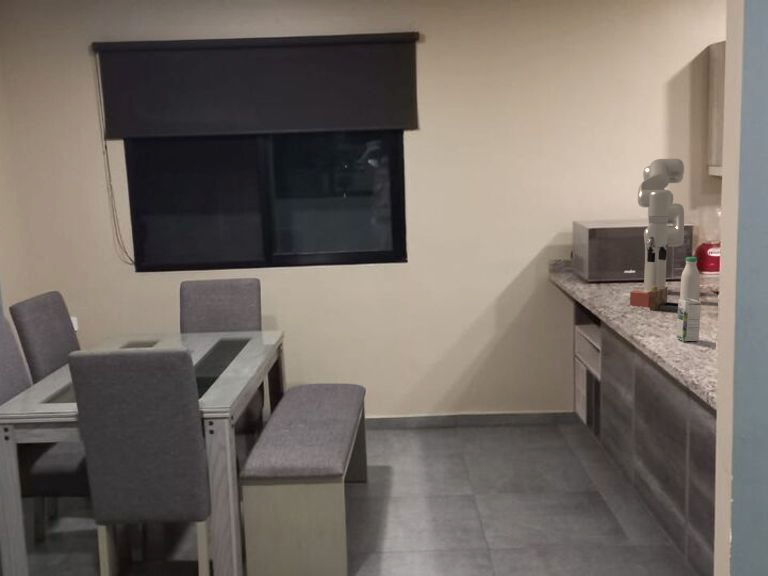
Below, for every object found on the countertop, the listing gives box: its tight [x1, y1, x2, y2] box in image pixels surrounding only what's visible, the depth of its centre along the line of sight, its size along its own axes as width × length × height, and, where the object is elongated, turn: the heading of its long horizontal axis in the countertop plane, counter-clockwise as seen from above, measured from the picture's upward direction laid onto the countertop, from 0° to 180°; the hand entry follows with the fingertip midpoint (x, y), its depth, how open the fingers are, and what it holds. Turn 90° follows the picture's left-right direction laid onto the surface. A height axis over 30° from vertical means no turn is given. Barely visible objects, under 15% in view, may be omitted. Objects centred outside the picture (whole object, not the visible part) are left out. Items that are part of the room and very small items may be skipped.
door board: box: [649, 286, 669, 312], centre depth 321 cm, size 15×2×10 cm, turn 141°
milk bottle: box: [679, 256, 701, 301], centre depth 331 cm, size 8×8×20 cm
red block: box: [629, 290, 651, 308], centre depth 327 cm, size 4×8×7 cm, turn 51°
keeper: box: [657, 301, 678, 313], centre depth 317 cm, size 9×12×2 cm
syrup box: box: [675, 298, 702, 342], centre depth 264 cm, size 6×6×14 cm
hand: (656, 260), depth 320 cm, fingers open, 9 cm apart
